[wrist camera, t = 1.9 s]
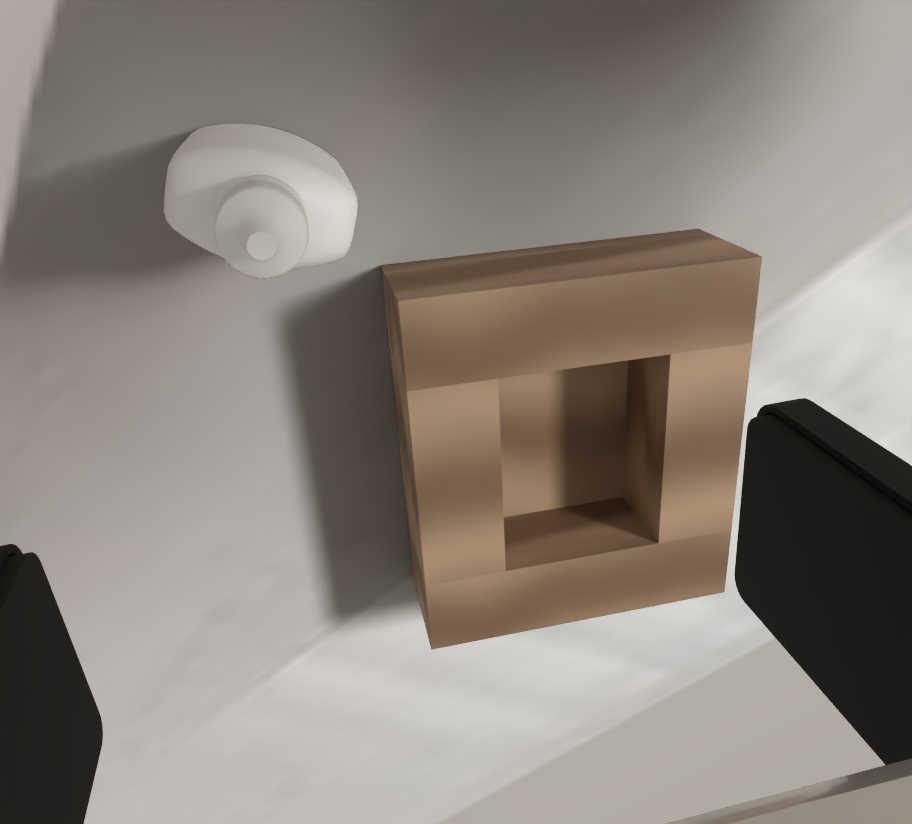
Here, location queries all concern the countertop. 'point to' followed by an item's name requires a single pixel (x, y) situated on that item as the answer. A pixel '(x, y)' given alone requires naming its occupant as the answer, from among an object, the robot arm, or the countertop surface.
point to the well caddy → (569, 426)
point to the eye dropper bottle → (260, 199)
